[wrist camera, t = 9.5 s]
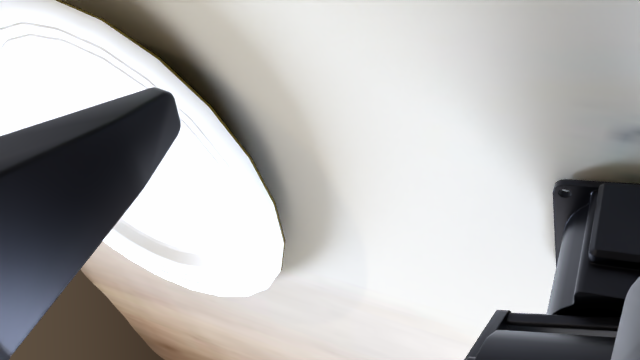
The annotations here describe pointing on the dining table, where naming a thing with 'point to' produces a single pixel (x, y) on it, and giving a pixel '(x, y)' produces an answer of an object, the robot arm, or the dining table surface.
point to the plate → (177, 165)
